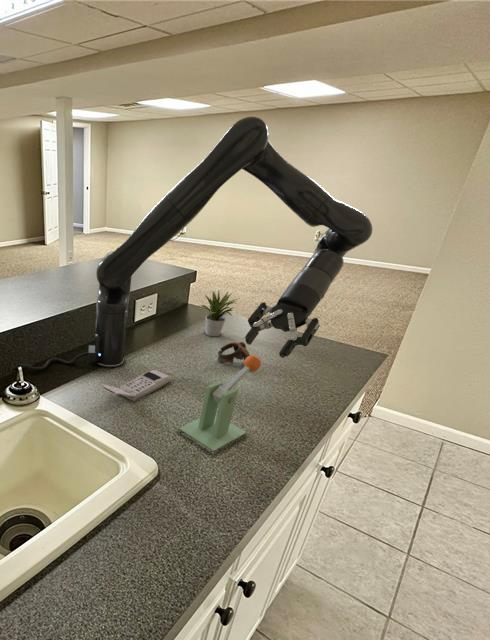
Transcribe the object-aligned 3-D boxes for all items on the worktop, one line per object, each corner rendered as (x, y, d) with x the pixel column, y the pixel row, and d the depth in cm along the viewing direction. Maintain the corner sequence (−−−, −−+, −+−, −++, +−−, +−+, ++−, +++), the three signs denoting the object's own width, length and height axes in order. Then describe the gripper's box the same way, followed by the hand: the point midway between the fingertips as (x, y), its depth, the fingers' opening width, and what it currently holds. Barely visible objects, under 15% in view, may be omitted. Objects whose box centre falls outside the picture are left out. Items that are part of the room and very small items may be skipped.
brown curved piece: (250, 376, 121) (241, 354, 118) (219, 380, 128) (210, 359, 124) (258, 353, 129) (250, 332, 125) (229, 357, 135) (221, 337, 132)
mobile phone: (100, 384, 102) (159, 356, 117) (98, 404, 105) (157, 374, 120) (117, 394, 98) (177, 363, 113) (115, 414, 101) (173, 381, 116)
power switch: (210, 417, 101) (220, 372, 95) (245, 437, 94) (258, 390, 88) (178, 433, 95) (186, 386, 88) (212, 455, 88) (224, 406, 81)
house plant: (226, 346, 140) (236, 300, 132) (188, 336, 146) (195, 292, 138) (237, 333, 150) (247, 290, 142) (200, 325, 157) (208, 283, 149)
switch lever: (250, 360, 94) (249, 350, 92) (264, 366, 92) (263, 355, 89) (211, 400, 91) (208, 390, 89) (224, 407, 88) (222, 397, 86)
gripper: (272, 275, 95) (232, 330, 94) (335, 290, 85) (290, 352, 84) (279, 294, 100) (241, 346, 100) (338, 310, 90) (296, 368, 90)
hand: (263, 349), depth 92 cm, fingers open, 8 cm apart
